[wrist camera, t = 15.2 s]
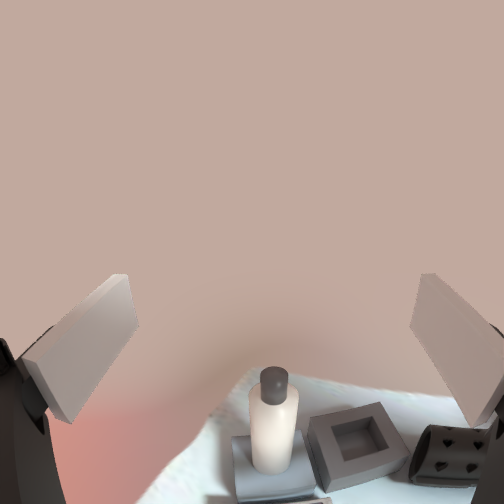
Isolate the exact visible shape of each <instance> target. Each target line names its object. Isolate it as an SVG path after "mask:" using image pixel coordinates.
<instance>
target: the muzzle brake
mask: <svg viewBox="0 0 504 504" xmlns="http://www.w3.org/2000/svg"><path fill="white" fill-rule="evenodd" d="M487 431H488V429H472V428H459V427H448V426H439V425H429V426H427V427H426V429H425V430H424V432H423V433H422V435H421V437H420V440H419V442H418V444H417V447H416V449H415V452H414V455H413V458H412V461H411V465H410V470H409V478H410V480H413V482H414V485H420V486H431V487H445V488H468V487H477V485H478V482H479V479H480V476H481V473H482V469H483V466H484V462H485V459H486V455H487V451H488V447H489V443H490V439H489V438H490V437H491V434H492V432H490V433H489V435H488V436H487V437H486V438H483V437H484V435H485V433H486V432H487Z"/></svg>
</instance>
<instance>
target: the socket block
mask: <svg viewBox="0 0 504 504" xmlns="http://www.w3.org/2000/svg"><path fill="white" fill-rule="evenodd" d="M307 436H308V439H309V442H310V446H311V449H312V452H313V455H314V459H315V462H316V465H317V468H318V472H319V475H320V478H321V481H322V484H323V488H324V491H325V493H329V492H333V491H337V490H341V489H345V488H348V487H352V486H355V485H359V484H362V483H365V482H368V481H371V480H374V479H377V478H380V477H383V476H385V475H388V474H391V473H393V472H396V471H398V470H400V468H401V467H402V466H403V464H404V463H405V462H406V460H407V459H408V457H409V456H410V455H411V454H410V453H409V451H408V449H407V447H406V446H405V444H404V442H403V440H402V439H401V437H400V435H399V433H398V432H397V430H396V428H395V426H394V425H393V423H392V421H391V420H390V418H389V416H388V414H387V413H386V411H385V409H384V408H383V406H382V404H381V403H380V402H377V403H373V404H369V405H366V406H362V407H358V408H354V409H349V410H345V411H341V412H336V413H331V414H326V415H321V416H316V417H310V423H309V428H308V433H307Z"/></svg>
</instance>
